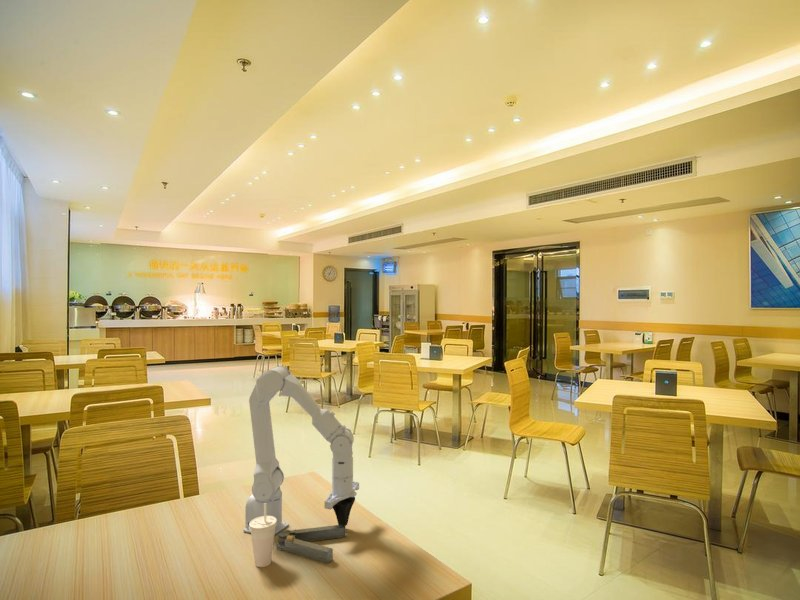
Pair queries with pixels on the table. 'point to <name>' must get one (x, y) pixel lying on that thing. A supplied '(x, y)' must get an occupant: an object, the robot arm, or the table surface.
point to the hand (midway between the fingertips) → (342, 525)
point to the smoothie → (263, 538)
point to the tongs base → (305, 549)
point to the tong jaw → (316, 533)
